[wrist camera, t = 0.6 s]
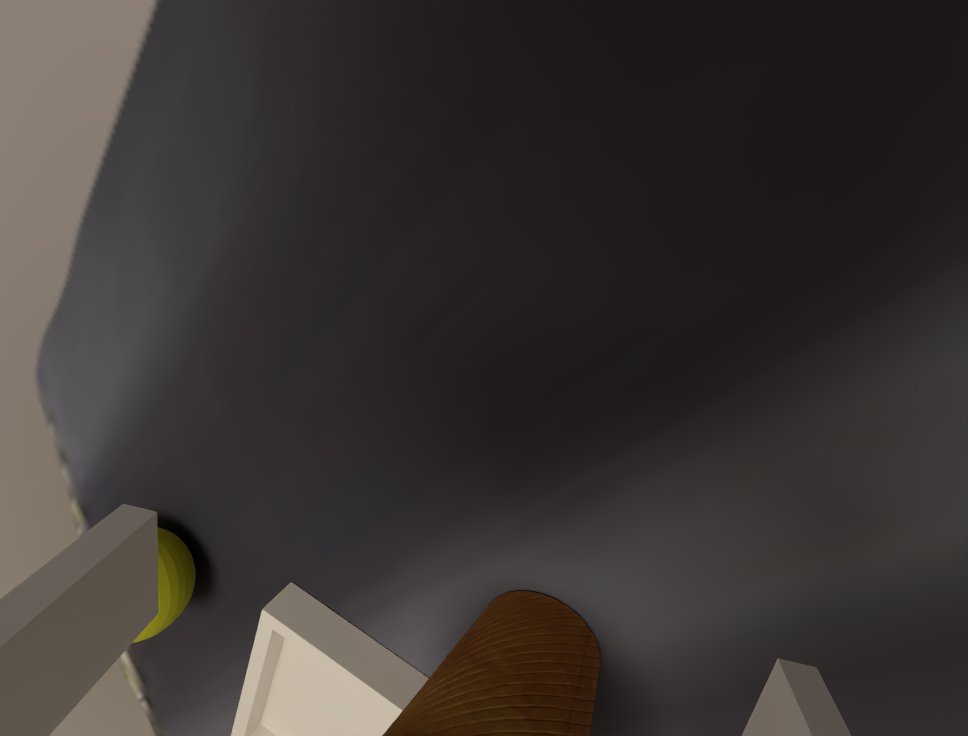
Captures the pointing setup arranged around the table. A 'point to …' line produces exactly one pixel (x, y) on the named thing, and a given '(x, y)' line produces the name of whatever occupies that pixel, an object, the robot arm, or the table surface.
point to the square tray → (319, 675)
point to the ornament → (171, 582)
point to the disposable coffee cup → (511, 676)
